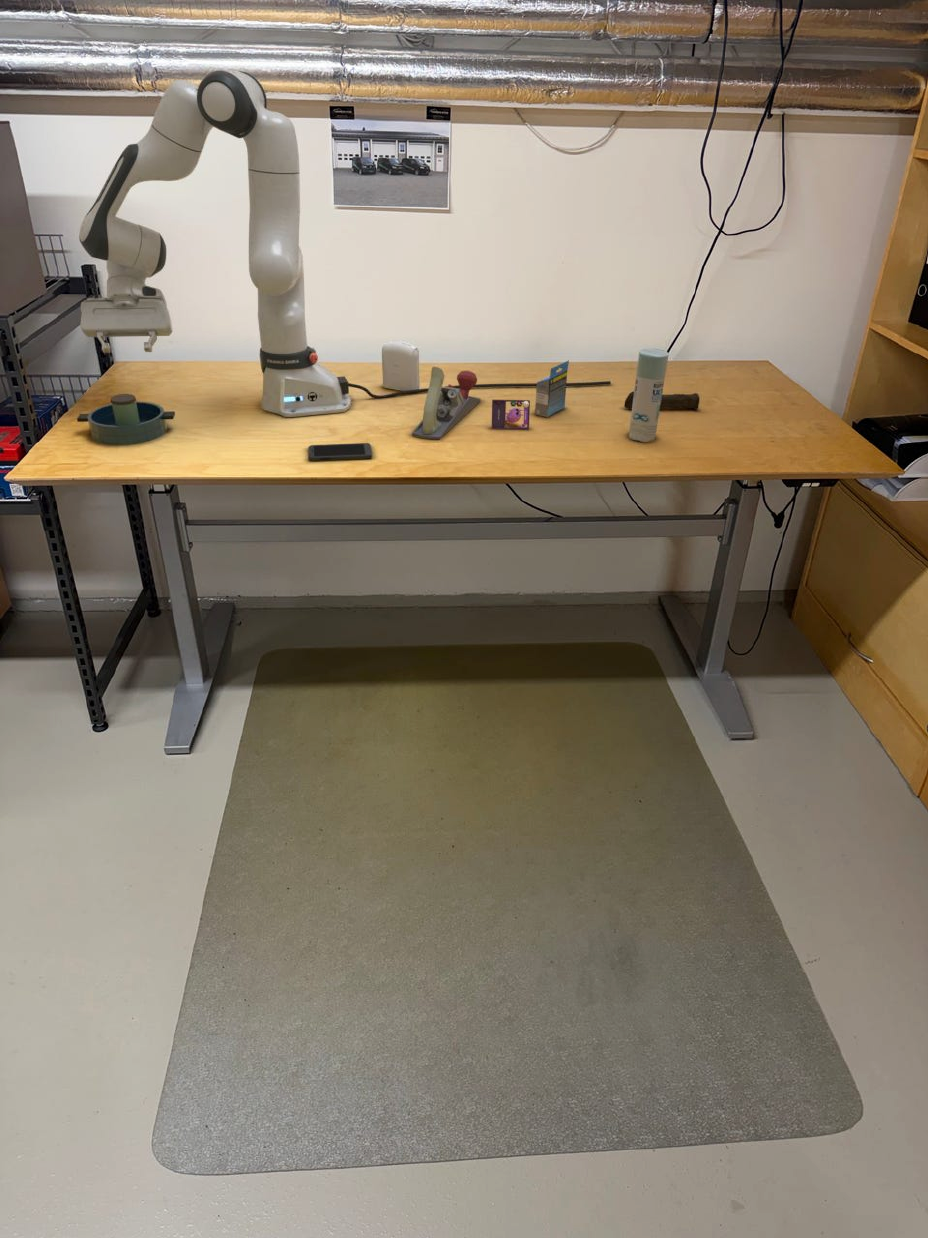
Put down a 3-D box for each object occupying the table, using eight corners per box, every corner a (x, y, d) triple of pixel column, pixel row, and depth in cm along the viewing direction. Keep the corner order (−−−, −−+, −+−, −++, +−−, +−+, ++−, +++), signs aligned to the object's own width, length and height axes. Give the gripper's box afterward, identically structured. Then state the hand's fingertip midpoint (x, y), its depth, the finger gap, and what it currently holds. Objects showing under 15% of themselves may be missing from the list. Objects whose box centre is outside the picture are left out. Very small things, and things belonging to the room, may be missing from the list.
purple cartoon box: (492, 399, 204) (530, 400, 204) (491, 399, 209) (528, 400, 209) (491, 428, 205) (529, 429, 206) (490, 428, 210) (527, 428, 211)
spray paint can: (649, 444, 200) (662, 358, 189) (623, 438, 203) (634, 353, 192) (659, 436, 205) (672, 351, 194) (634, 430, 208) (645, 346, 197)
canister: (143, 426, 202) (137, 393, 197) (139, 435, 197) (133, 401, 193) (119, 427, 201) (112, 393, 197) (115, 435, 197) (108, 401, 192)
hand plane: (410, 436, 201) (409, 372, 193) (457, 395, 225) (458, 337, 217) (438, 440, 199) (438, 376, 191) (482, 399, 224) (484, 341, 215)
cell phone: (372, 458, 189) (372, 455, 189) (308, 461, 187) (308, 457, 187) (370, 445, 195) (370, 442, 195) (308, 448, 193) (308, 444, 193)
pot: (171, 418, 207) (168, 400, 205) (161, 444, 193) (158, 425, 191) (100, 420, 205) (96, 402, 203) (84, 447, 191) (79, 427, 189)
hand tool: (694, 406, 223) (697, 388, 221) (698, 411, 220) (701, 393, 217) (622, 405, 222) (624, 388, 220) (625, 411, 219) (627, 393, 216)
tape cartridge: (552, 405, 221) (555, 356, 215) (565, 408, 219) (569, 359, 213) (533, 414, 215) (537, 365, 208) (547, 418, 213) (551, 368, 207)
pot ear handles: (175, 414, 200) (174, 411, 200) (173, 419, 197) (172, 415, 197) (80, 417, 197) (79, 413, 197) (77, 422, 195) (76, 418, 194)
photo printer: (380, 388, 229) (378, 341, 223) (388, 383, 233) (387, 337, 226) (414, 394, 226) (413, 346, 219) (421, 389, 229) (421, 342, 222)
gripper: (76, 290, 199) (76, 345, 197) (167, 289, 202) (168, 343, 199) (85, 305, 206) (84, 358, 203) (173, 304, 208) (174, 357, 206)
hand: (127, 351), depth 201 cm, fingers open, 8 cm apart
